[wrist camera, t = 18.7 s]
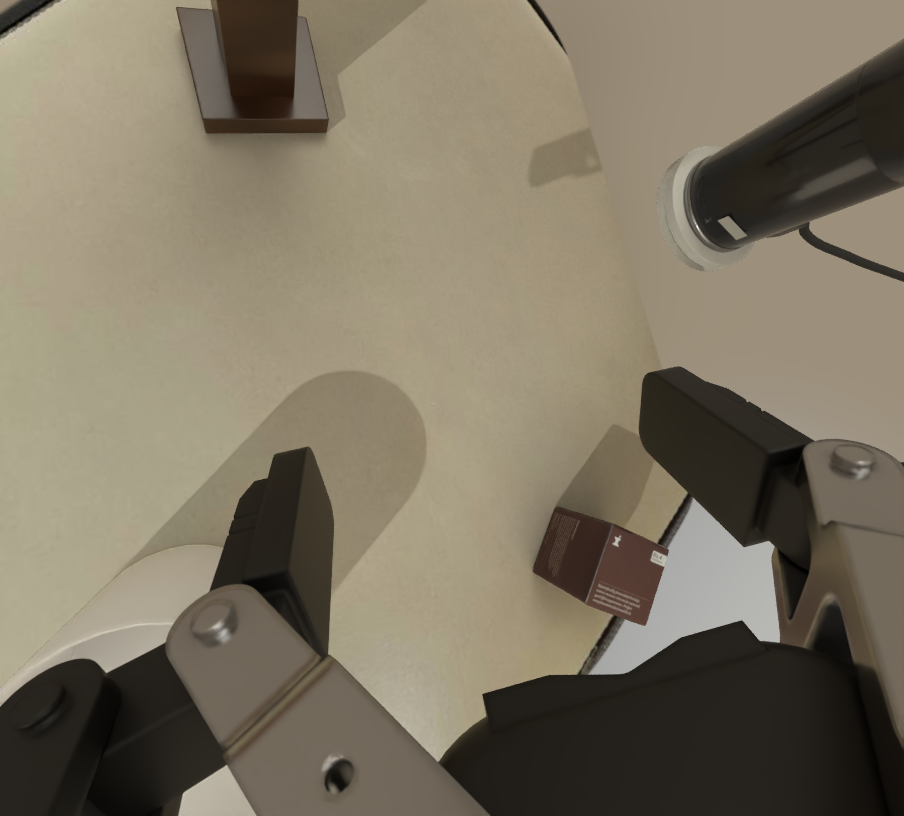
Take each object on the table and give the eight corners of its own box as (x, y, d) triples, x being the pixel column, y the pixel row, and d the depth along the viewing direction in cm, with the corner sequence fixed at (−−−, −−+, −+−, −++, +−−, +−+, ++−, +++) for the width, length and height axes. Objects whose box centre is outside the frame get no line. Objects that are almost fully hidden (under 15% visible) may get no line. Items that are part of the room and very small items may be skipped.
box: (529, 571, 38) (583, 604, 32) (554, 503, 39) (612, 522, 33) (584, 592, 40) (646, 628, 33) (607, 528, 41) (672, 550, 34)
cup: (27, 667, 27) (-156, 848, 15) (180, 507, 30) (120, 561, 18) (197, 762, 30) (147, 972, 18) (321, 607, 32) (343, 708, 21)
